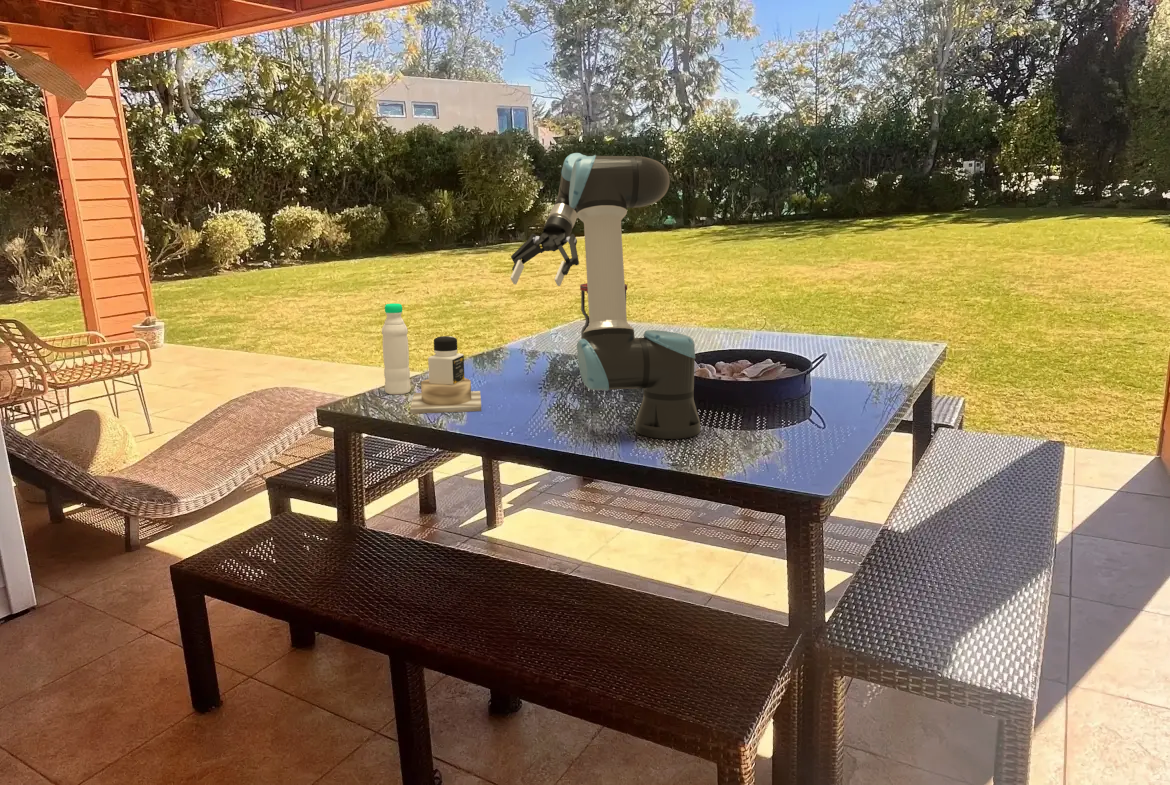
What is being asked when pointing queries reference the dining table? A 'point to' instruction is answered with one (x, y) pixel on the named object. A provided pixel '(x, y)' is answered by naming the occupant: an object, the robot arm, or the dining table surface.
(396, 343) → the water bottle
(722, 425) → the dining table surface
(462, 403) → the post stand
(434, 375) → the medicine bottle
